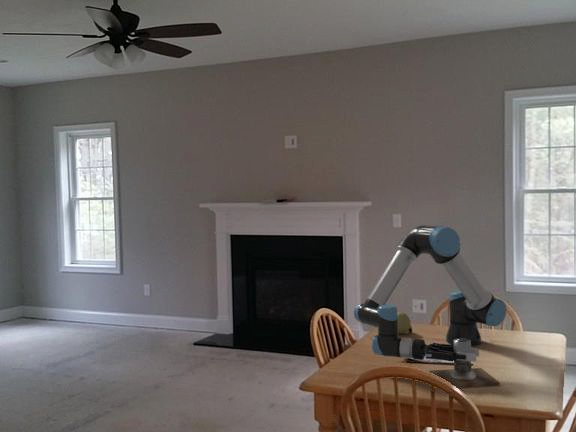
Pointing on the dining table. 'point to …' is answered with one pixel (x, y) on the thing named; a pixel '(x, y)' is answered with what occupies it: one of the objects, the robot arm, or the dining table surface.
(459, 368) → the grey metallic can
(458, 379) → the brown flat slab
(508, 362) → the dining table surface
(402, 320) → the olive green rounded lump
